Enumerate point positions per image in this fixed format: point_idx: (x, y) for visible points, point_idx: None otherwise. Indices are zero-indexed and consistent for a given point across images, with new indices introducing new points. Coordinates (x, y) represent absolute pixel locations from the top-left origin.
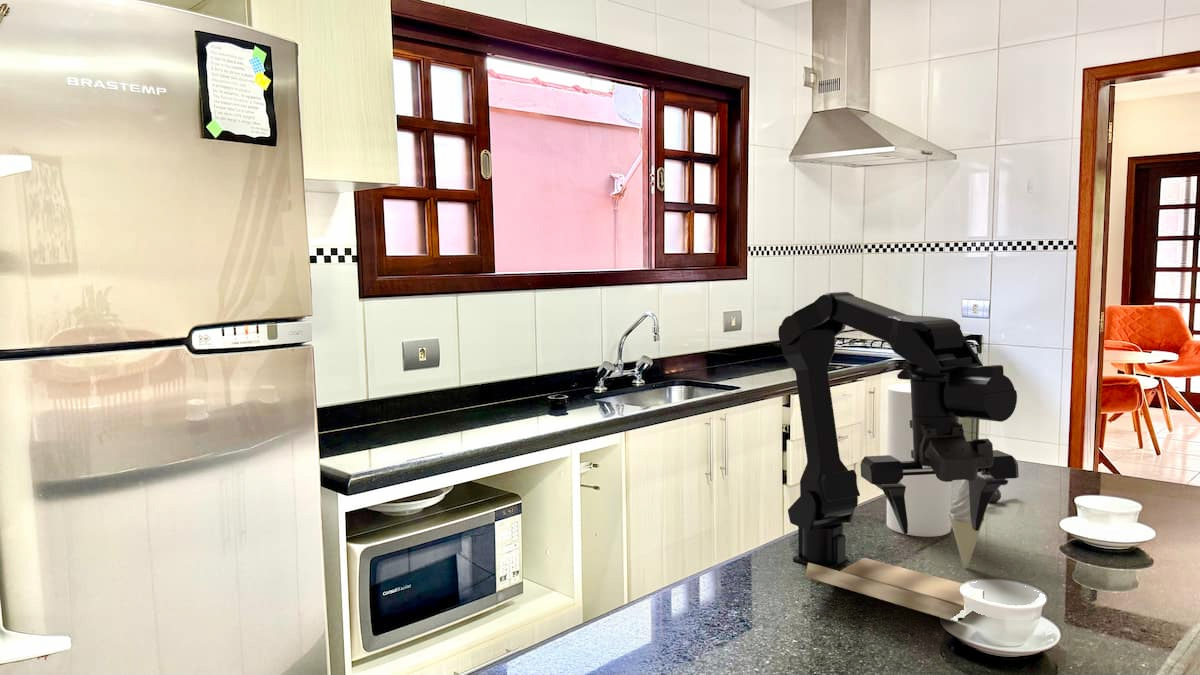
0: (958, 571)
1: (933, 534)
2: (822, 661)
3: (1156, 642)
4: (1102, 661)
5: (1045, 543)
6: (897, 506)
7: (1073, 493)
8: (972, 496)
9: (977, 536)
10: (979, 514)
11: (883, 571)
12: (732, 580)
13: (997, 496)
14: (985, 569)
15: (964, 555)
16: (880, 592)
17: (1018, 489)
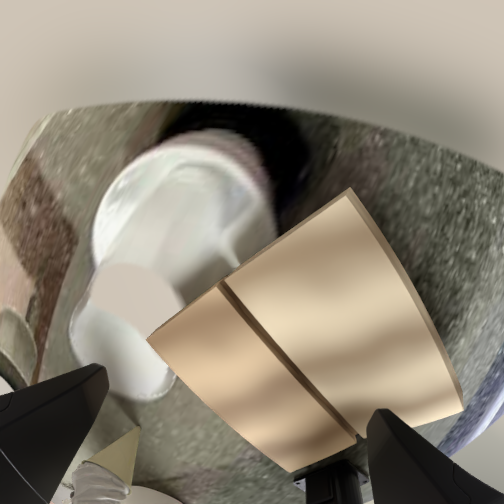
0: (151, 425)
1: (148, 490)
2: (496, 180)
3: (29, 171)
4: (102, 115)
5: None
6: (466, 476)
7: None
8: (44, 472)
9: (103, 449)
10: (54, 389)
11: (288, 435)
12: (467, 425)
13: (73, 494)
14: (115, 415)
15: (133, 438)
16: (415, 295)
17: (60, 491)
